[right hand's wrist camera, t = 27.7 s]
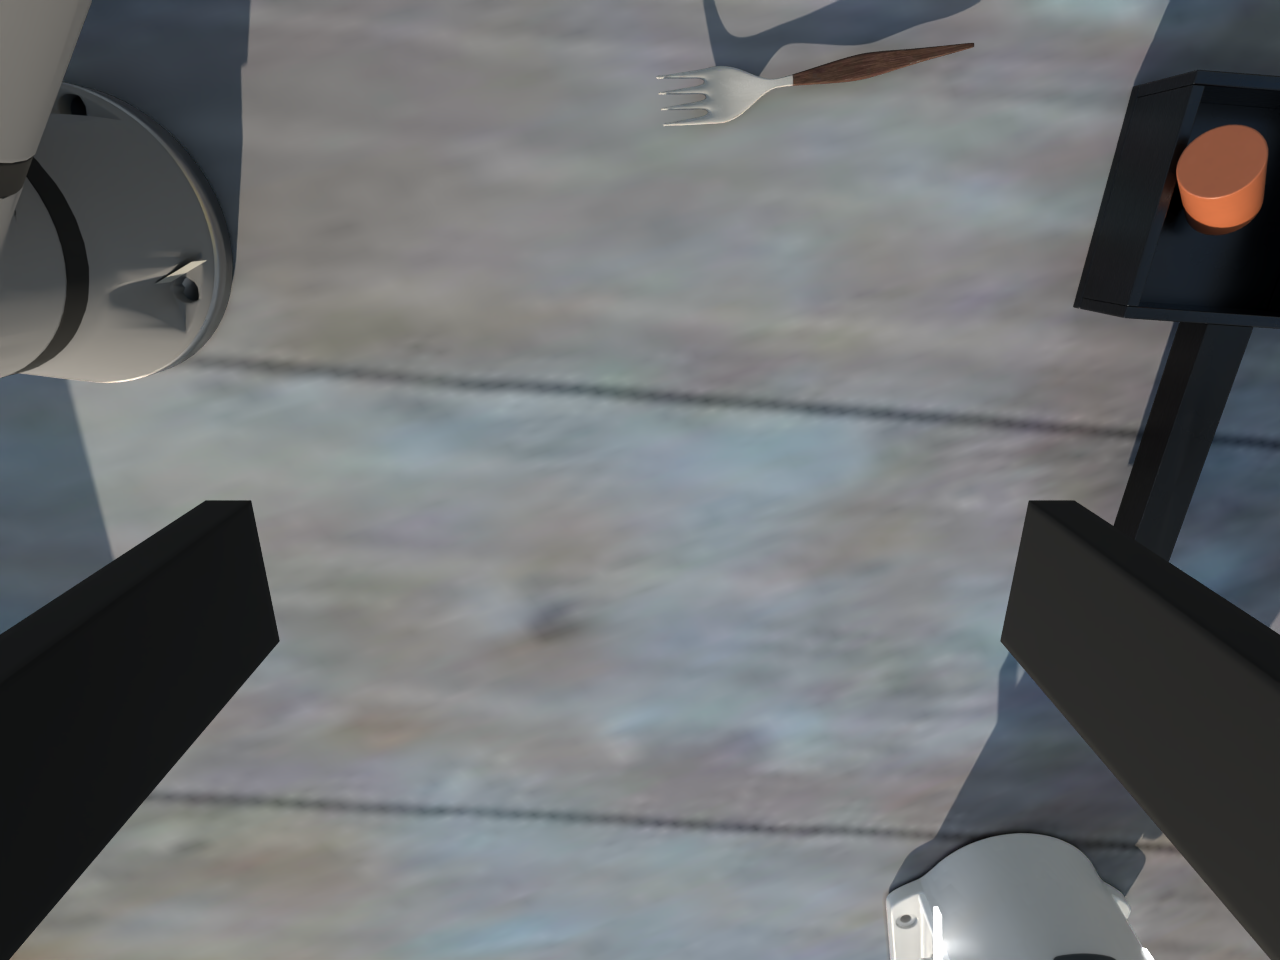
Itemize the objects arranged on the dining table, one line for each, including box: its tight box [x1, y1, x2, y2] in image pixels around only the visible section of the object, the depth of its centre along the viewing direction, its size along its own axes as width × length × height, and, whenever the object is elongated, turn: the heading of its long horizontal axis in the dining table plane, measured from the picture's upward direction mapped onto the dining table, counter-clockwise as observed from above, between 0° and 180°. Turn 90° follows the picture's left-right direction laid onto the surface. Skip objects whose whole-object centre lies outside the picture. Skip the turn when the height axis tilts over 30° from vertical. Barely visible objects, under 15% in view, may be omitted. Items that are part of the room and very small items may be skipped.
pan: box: [1073, 70, 1280, 562], centre depth 40 cm, size 29×11×5 cm, turn 176°
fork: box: [656, 43, 974, 126], centre depth 36 cm, size 3×16×2 cm, turn 100°
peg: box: [1176, 125, 1268, 235], centre depth 35 cm, size 3×3×7 cm
